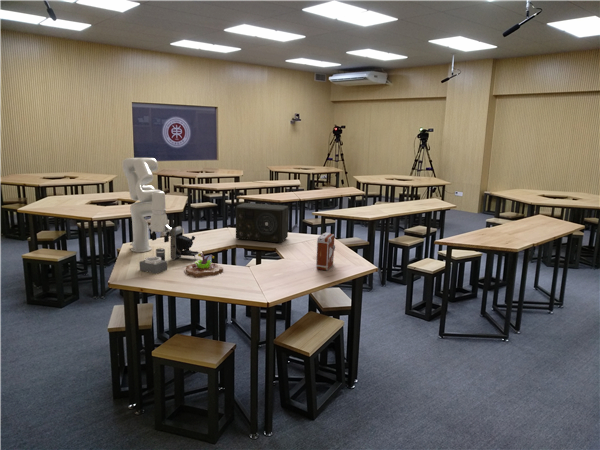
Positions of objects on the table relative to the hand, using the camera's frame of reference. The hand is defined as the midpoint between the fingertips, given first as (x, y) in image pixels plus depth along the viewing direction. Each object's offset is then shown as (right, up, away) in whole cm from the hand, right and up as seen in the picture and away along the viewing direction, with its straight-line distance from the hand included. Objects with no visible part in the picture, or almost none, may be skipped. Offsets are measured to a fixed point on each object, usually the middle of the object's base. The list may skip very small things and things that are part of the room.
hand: (160, 240), depth 264 cm
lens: (-1, -13, +3) cm, 13 cm away
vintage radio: (+53, -2, +66) cm, 85 cm away
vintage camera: (+12, -12, +13) cm, 21 cm away
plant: (+28, -17, -10) cm, 34 cm away
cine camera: (+98, -16, +6) cm, 100 cm away
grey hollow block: (0, -16, -11) cm, 20 cm away
